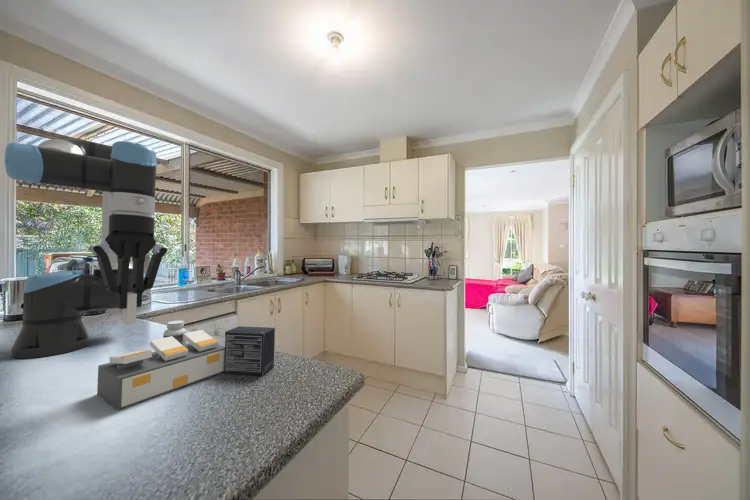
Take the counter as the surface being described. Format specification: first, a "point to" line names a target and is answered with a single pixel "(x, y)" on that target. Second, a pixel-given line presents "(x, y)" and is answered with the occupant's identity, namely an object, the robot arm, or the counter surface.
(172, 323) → the pill bottle
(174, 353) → the switch
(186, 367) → the console
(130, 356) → the switch
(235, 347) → the small box
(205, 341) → the switch
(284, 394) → the counter surface
